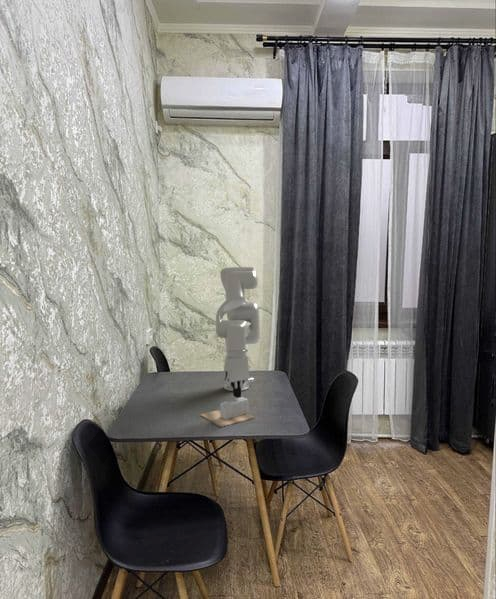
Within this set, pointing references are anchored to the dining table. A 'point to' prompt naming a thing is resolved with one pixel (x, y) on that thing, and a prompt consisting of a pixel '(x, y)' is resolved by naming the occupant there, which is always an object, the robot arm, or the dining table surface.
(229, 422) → the wooden board
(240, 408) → the skincare box
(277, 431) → the dining table surface
